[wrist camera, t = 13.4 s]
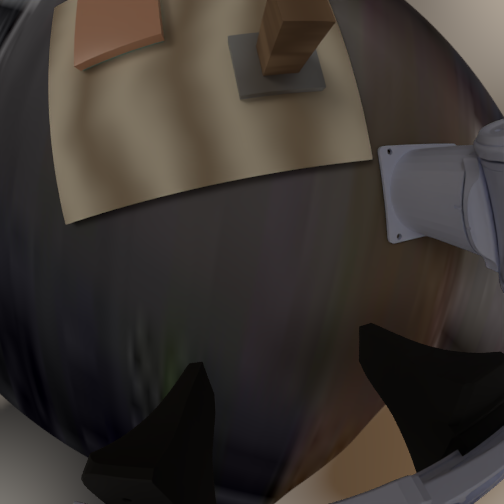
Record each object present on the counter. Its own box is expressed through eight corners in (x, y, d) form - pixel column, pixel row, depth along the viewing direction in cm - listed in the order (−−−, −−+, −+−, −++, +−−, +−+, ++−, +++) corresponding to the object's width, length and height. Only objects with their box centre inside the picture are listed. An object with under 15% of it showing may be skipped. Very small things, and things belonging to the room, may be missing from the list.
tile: (165, 42, 16) (158, -22, 14) (161, 33, 14) (155, -31, 12) (82, 72, 15) (84, 5, 13) (73, 66, 14) (77, -2, 12)
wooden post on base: (306, 35, 16) (345, -26, 8) (321, 91, 18) (376, 45, 9) (227, 41, 16) (228, -29, 8) (239, 99, 17) (248, 46, 9)
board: (303, -43, 14) (305, -49, 13) (366, 160, 20) (372, 159, 19) (59, 11, 14) (54, 7, 13) (71, 222, 19) (65, 224, 18)
